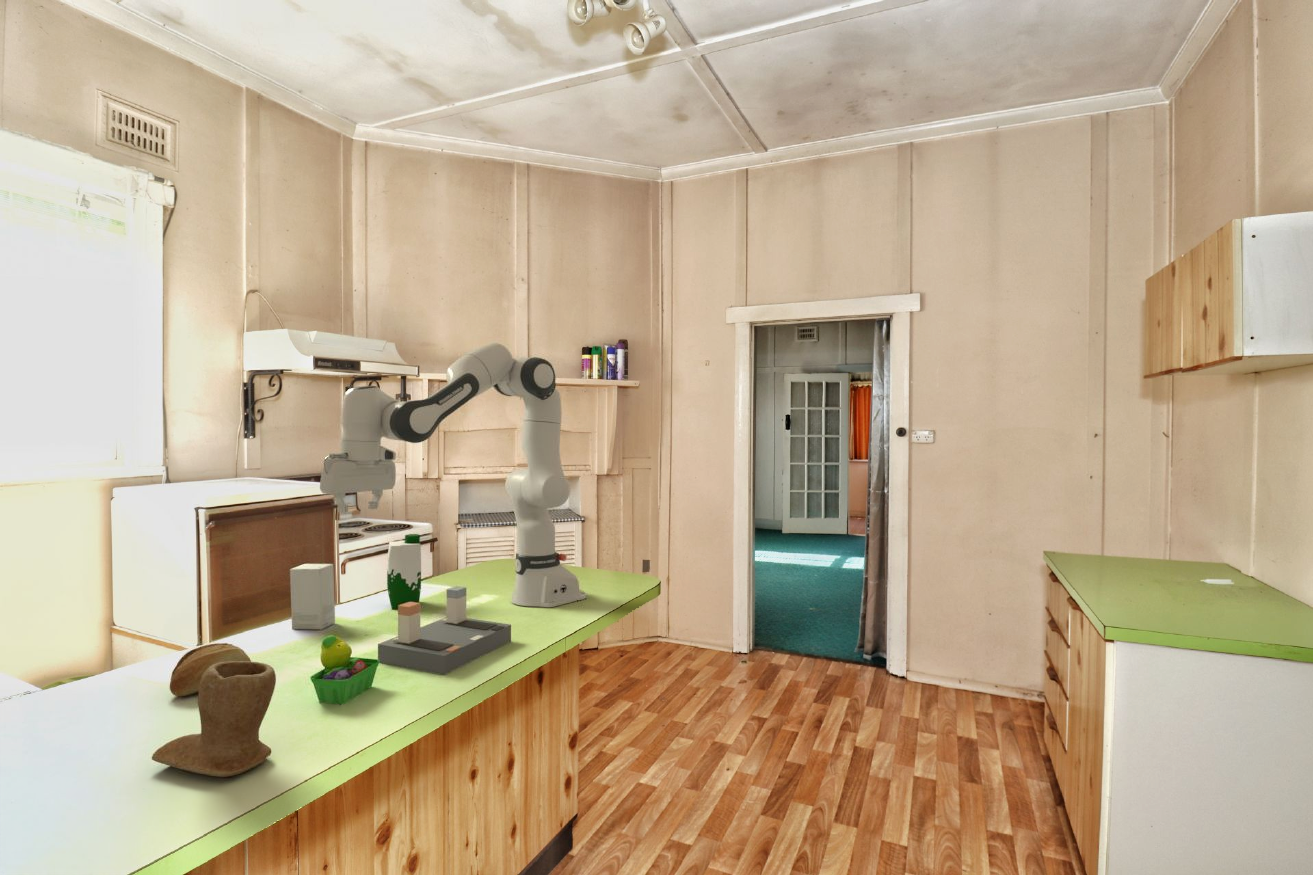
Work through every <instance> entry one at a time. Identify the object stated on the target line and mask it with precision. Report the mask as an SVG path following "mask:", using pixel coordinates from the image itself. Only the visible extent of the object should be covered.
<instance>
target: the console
mask: <svg viewBox="0 0 1313 875" xmlns="http://www.w3.org/2000/svg"><path fill="white" fill-rule="evenodd" d="M510 642H512V624H511V623H510V624H509V623H502V622H496V621H490V620H482V619H476V618H469V617H466V620H465V621H462V622H460V623H457V624H454V623H448V622H446V617H444V618H441V619H438V620H436V621H433V622H431V623H429V624H426V625H423V626H420V639H419V640H416V641H414V642H411V643H409V644H408V643H402V642H398V635H397V636H395V637H393V638H390V639H387V640H385V641H382V642H380V643H377V659H378V660H380V663H381V664H385V665H389V666H397V667H400V668H406V669H410V670H416V671H417V670H418V671H423V672H427V673H433V674H437V675H444V676H445V675H447V674H449V673H451V672H452V671H453V672H454V671H455V670H457V669H459V668H461V667H462V666H465V665H466V664H468V663H471V662H473V661H475V660H476V659H478V658H481V657H482V656H484V654H485V655H486V654H488V653H491V652H492V651H494V650H496V649H498V648H500V647H502V646H504V645H506V644H508V643H510ZM480 656H481V657H480ZM380 663H379V664H380Z"/></svg>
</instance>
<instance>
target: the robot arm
mask: <svg viewBox="0 0 1313 875" xmlns="http://www.w3.org/2000/svg"><path fill="white" fill-rule="evenodd" d="M445 376H446V377H445V378H446V383H447V384H446V385H444V386H443V387H442V388H440V389H439V390H437V391H435V393H433V394H431V395H429V396H428V397H426V398H424V399H418V400H417V399H416V400H410V401H409V400H408V401H400V400H399V399H396V398H394V397H392V396H390V395H389V394H387V393H386V392H384V391H383V390H382V389H381V388H380V387H379V386H376V385H367V386H366V385H365V386H356V387H350V388H349V389H347V391H345V393H344V396H343V399H342V406H341V419H340V420H341V421H340V422H341V426H342V434H341V437H340V445H339V447H340V449H339V450H340V451H339V453H330V454H328V456H326V457H325V458H324V460H323V466H322V468H321V470H322V471H321V476H320V482H319V490H320V491H321V493H322V494H323V495H333V499H334V501H335V503H336V505H337V513H340V514H345V513H348V512H349V504H346V503H345V498H346V494H349V493H363V492H371V495H373V496H372V498H371V500H370V501H368V509H369V510H377V509H379V502H380V500H381V498H382V497H383V493H384V491H385V490H386V491H387V490H388V491H389V490H393V489H394V487H395V485H396V476H397V473H396V472H397V471H396V464H395V462H394V461H395V460H396V458H397V453H396V452H395V450H391V449H389V448H387V447H384V446H383V445H382V444H381V443H382V441H381V440H382V438H385V439H387V440H395V441H403V442H408V443H411V444H418V443H422V442H424V441H426V440H428V439H429V438H431V436H433V434H434V433H435V431H436V430H437V429H438V427H439V425H440V424H441V423H442V421H443V420H445V419H446V418H447V417H448V416H450V415H451V414H452V413H454V412H455V411H457V410H458V409H459V408H461V407H462V406H464V405H465V404H466V403H468V402H469V401H470V400H472V399H473V398H476V397H478V396H479V395H482V394H483V393H485V392H486V391H488V390H489V389H492V387H493V388H494V390H495V391H496V392H498V393H499V394H500V395H503V396H505V397H517V398H518V397H521V398H522V400H523V402H524V415H523V423H522V434H521V450H522V451H523V453H524V455H525V458H526V463H527V467H524V468H520V469H519V468H518V469H516V470H514V471H512V472H511V473H510V474H509V475H508V476H507V478H506V479H505V483H504V487H505V491H506V492H505V493H506V495H507V496H508V497H509V499H510V502H511V505H512V509H513V513H514V517H515V522H516V524H515V525H516V530H517V531H516V532H517V533H516V536H517V537H516V539H517V540H516V542H517V543H516V546H517V549H516V553H515V565H514V566H515V573H516V574H515V580H514V581H515V582H514V583H515V584H514V588H513V592H512V596H511V600H510V601H511V603H513V604H514V605H517V606H522V607H540V608H555V607H558V606H561V605H565V604H569V603H574V602H578V601H581V600H585V598H586V599H587V598H588V595H587V593H586V592H585V591H583V590H582V589H580V583H579V579H578V577H577V576H576V575H575V574H574V573H573V572H571V571H570V570H569V569H567V567H565V566H563V565H562V564H561V561H562V562H566V560H567V559H568V556H567V554H565V553H562V552H561V553H558V552H556V526H555V524H554V522H553V520H552V519H551V516H550V513H549V509H554V508H558V507H561V506H563V505H564V504H566V502H567V501H568V499H569V497H570V494H571V487H570V486H571V485H570V482H569V480H568V479H567V477H566V476H565V474H564V470H563V466H562V460H561V454H560V452H561V451H560V449H561V448H560V443H561V428H562V401H561V394H560V392H559V390H558V389H556V386H557V382H556V379H557V378H556V371H555V369H554V366H553V364H551V362H549V361H548V360H547V359H545V358H542V357H535V356H534V357H520V358H519V357H518V358H513V356H512V353H511V352H510V351H509V349H508V348H507V347H506V346H504V345H503V344H500V343H496V342H495V343H489V344H486V345H483V346H481V347H479V348H476V349H474V350H471V351H469V352H468V353H466V354H464V355H463V356H461V357H460V358H458V359H457V360H455V361H454V362H452V364H451V365H450V366H448V368H447V370H446V375H445ZM577 600H578V601H577Z"/></svg>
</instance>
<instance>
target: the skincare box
mask: <svg viewBox="0 0 1313 875" xmlns="http://www.w3.org/2000/svg"><path fill="white" fill-rule="evenodd" d="M289 578H290V580H289V581H290V602H291V603H290V606H291V607H290V610H291V629H292V630H318V631H319V630H324V629H326V628H327V627H329V626H331V625H334V624H335V623H336V608H335V604H336V602H335V576H334V563H304V564H301V565H298V566H295V567H293V568H290V569H289Z"/></svg>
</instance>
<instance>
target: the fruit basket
mask: <svg viewBox="0 0 1313 875" xmlns="http://www.w3.org/2000/svg"><path fill="white" fill-rule="evenodd" d="M320 645H321V646H320V647H321V652H320V662H321V665H322V667H323V669H321V670H320V671H318V672H316V673H315V674H313V675H311V676H310V677H309V678H310V681H311V683H312V684H313V687H314V690H315V694H316V697H317V699H318V702H319V703H326V704H332V705H333V704H336V705H337V704H339V705H344V704H346V703H347V702H348V701H350V700H352V699H354V698H355V697H357V696H358V695H361V694H362V693H364V692H365V690H368V689H370V688H371V687H372V686H373V683H374V679H375V675H376V672H377V669H378V667H379V665H380V663H379V662H380V660H378V658H377V659H376V658H365V657H356V656H355V657H354V656H352V653H353V651H352V647H351V646H350V645H349V644H348V643H346V641H344V640H342V639H341V638H340V637H338V636H336V635H334V634H330V635H326V636H325V637H324V638H323V639H322V641H321V644H320Z"/></svg>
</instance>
